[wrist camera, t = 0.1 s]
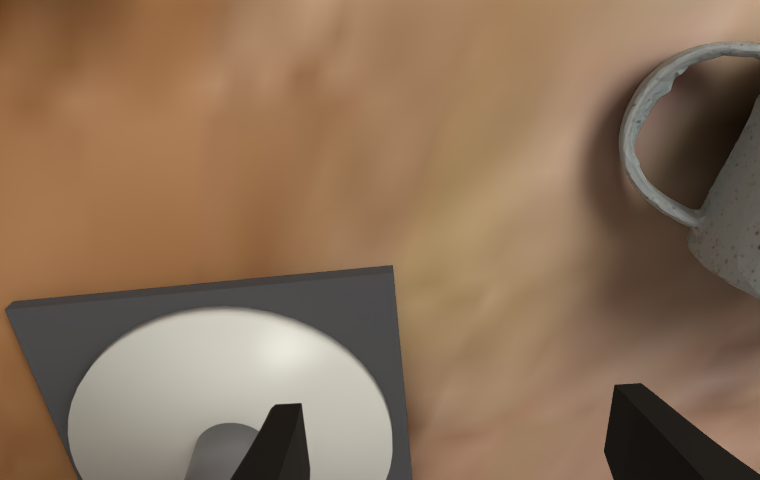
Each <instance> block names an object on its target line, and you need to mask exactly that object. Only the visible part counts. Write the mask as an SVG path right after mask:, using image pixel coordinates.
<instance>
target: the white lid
mask: <svg viewBox="0 0 760 480" xmlns="http://www.w3.org/2000/svg"><path fill="white" fill-rule="evenodd" d="M291 403H302V410H303V417H304V425H305V432H306V440H307V447H308V455H309V463H310V480H386V478H387V475H388V472H389V469H390V465H391V459H392V452H393V451H392V427H391V420H390V415H389V410H388V406H387V404H386V401H385V398H384V396H383V393H382V391H381V389H380V388H379V386H378V384H377V382H376V381H375V379H374V377H373V376H372V375H371V373H370V372H369V371H368V370H367V368H366V367H365V366H364V364H363V363H362V362H361V361H360V360H359V359H358V358H357V357H356V356H355V355H354V354H353V353H351V352H350V351H349V350H348V349H347V348H346V347H344V346H343V345H342V344H340V343H339V342H338V341H336V340H335V339H334V338H332V337H330V336H329V335H327V334H325V333H323V332H322V331H320V330H318V329H316V328H315V327H313V326H310V325H308V324H306V323H303V322H301V321H298V320H296V319H294V318H291V317H287V316H284V315H281V314H277V313H274V312H270V311H264V310H259V309H253V308H247V307H233V306H212V307H198V308H192V309H185V310H179V311H176V312H172V313H169V314H165V315H161V316H158V317H156V318H154V319H151V320H149V321H146V322H144V323H142V324H139V325H138V326H136V327H134V328H133V329H131V330H129V331H127V332H126V333H124V334H122V335H121V336H120V337H119V338H117V339H116V340H115V341H114V342H112V343H111V344H110V345H109V346H107V348H106V349H105V350H104V351H103V352H102V353H101V354H100V355H99V356H98V357H97V359H96V360H95V361H94V363H93V364H92V366H91V367H90V369H89V370H88V372H87V373H86V375H85V377H84V378H83V380H82V381H81V383H80V384H79V386H78V388H77V390H76V393H75V395H74V398H73V400H72V403H71V407H70V412H69V417H68V439H69V445H70V451H71V454H72V457H73V460H74V463H75V466H76V468H77V470H78V472H79V474H80V475H81V477H82V479H83V480H230V479H231V477H232V476H233V474H234V473H235V471H236V469H237V468H238V466H239V465H240V463H241V461H242V460H243V458H244V457H245V455H246V453H247V452H248V450H249V448H250V447H251V445H252V443H253V442H254V440H255V438H256V436H257V434H258V433H259V431H260V429H261V427H262V425H263V423H264V421H265V419H266V417H267V415H268V413H269V411H270V409H271V408H272V407H273V406H274V405H275V404H291Z"/></svg>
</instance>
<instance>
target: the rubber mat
mask: <svg viewBox="0 0 760 480" xmlns="http://www.w3.org/2000/svg"><path fill="white" fill-rule="evenodd" d="M212 306H233V307H247V308H253V309H259V310H264V311H270V312H274V313H277V314H281V315H284V316H287V317H291V318H294V319H296V320H298V321H301V322H303V323H306V324H308V325H310V326H313V327H315V328H316V329H318V330H320V331H322V332H323V333H325V334H327V335H329V336H330V337H332V338H334V339H335V340H336V341H338V342H339V343H340V344H342V345H343V346H344V347H346V348H347V349H348V350H349V351H350V352H351V353H353V354H354V355H355V356H356V357H357V358H358V359H359V360H360V361H361V362H362V363H363V364H364V366H365V367H366V368H367V370H368V371H369V372H370V373H371V375H372V376H373V377H374V379H375V381H376V382H377V384H378V386H379V388H380V389H381V391H382V393H383V396H384V398H385V401H386V404H387V406H388V410H389V415H390V420H391V427H392V451H393V452H392V459H391V465H390V469H389V472H388V475H387V478H386V480H413V479H412V469H411V458H410V447H409V436H408V425H407V415H406V404H405V393H404V382H403V371H402V361H401V350H400V339H399V328H398V317H397V307H396V296H395V285H394V274H393V265H391V266H381V267H370V268H360V269H349V270H339V271H328V272H318V273H307V274H297V275H287V276H276V277H266V278H255V279H245V280H234V281H224V282H213V283H203V284H192V285H182V286H172V287H161V288H151V289H140V290H130V291H119V292H109V293H98V294H88V295H77V296H67V297H56V298H46V299H36V300H25V301H15V302H12V303H11V304H10V305H9V306H8V307H7V308H6V309H5V311H6V313H7V316H8V318H9V320H10V323H11V325H12V327H13V330H14V332H15V334H16V336H17V339H18V341H19V343H20V346H21V348H22V350H23V353H24V355H25V357H26V359H27V362H28V364H29V366H30V369H31V371H32V373H33V375H34V378H35V380H36V382H37V385H38V387H39V389H40V392H41V394H42V396H43V398H44V401H45V403H46V405H47V408H48V410H49V412H50V415H51V417H52V419H53V421H54V424H55V426H56V428H57V431H58V433H59V435H60V438H61V440H62V442H63V444H64V447H65V449H66V451H67V454H68V456H69V458H70V460H71V463H72V465H73V467H74V470H75V472H76V474H77V477H78V479H79V480H83V479H82V477H81V475H80V474H79V472H78V470H77V468H76V466H75V463H74V460H73V457H72V454H71V451H70V445H69V439H68V417H69V412H70V407H71V403H72V400H73V398H74V395H75V393H76V390H77V388H78V386H79V384H80V383H81V381H82V380H83V378H84V377H85V375H86V373H87V372H88V370H89V369H90V367H91V366H92V364H93V363H94V361H95V360H96V359H97V357H98V356H99V355H100V354H101V353H102V352H103V351H104V350H105V349H106V348H107V346H109V345H110V344H111V343H112V342H114V341H115V340H116V339H117V338H119V337H120V336H121V335H122V334H124V333H126V332H127V331H129V330H131V329H133V328H134V327H136V326H138V325H139V324H142V323H144V322H146V321H149V320H151V319H154V318H156V317H158V316H161V315H165V314H169V313H172V312H176V311H179V310H185V309H192V308H198V307H212Z"/></svg>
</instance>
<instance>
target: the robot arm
mask: <svg viewBox="0 0 760 480" xmlns="http://www.w3.org/2000/svg"><path fill="white" fill-rule="evenodd" d="M604 453H605V456H606V459H607V462H608V465H609V467H610V470H611V473H612V476H613V479H614V480H760V474H758V473H757V472H756V471H754V470H753V469H751V468H750V467H748V466H747V465H746V464H744V463H743V462H741V461H740V460H739V459H737V458H736V457H734V456H733V455H732V454H730V453H729V452H728V451H726V450H725V449H724V448H722V447H721V446H720V445H718V444H717V443H716V442H714V441H713V440H712V439H711V438H709V437H708V436H707V435H705V434H704V433H703V432H702V431H700V430H699V429H698V428H696V427H695V426H694V425H693V424H691V423H690V422H689V421H688V420H686V419H685V418H684V417H683V416H681V415H680V414H679V413H678V412H676V411H675V410H674V409H673V408H672V407H670V406H669V405H668V404H667V403H665V402H664V401H663V400H662V399H660V398H659V397H658V396H657V395H655V394H654V393H653V392H652V391H650V390H649V389H648V388H647V387H645V386H644V385H643V384H641V383H637V384H620V385H615V386H614V392H613V398H612V404H611V411H610V417H609V423H608V429H607V436H606V442H605V448H604ZM230 480H310V463H309V455H308V447H307V440H306V432H305V425H304V417H303V410H302V403H291V404H275V405H274V406H273V407H272V408H271V409H270V411H269V413H268V415H267V417H266V419H265V421H264V423H263V425H262V427H261V429H260V431H259V433H258V434H257V436H256V438H255V440H254V442H253V443H252V445H251V447H250V448H249V450H248V452H247V453H246V455H245V457H244V458H243V460H242V461H241V463H240V465H239V466H238V468H237V469H236V471H235V473H234V474H233V476H232V477H231V479H230Z"/></svg>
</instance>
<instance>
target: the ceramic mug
mask: <svg viewBox="0 0 760 480" xmlns="http://www.w3.org/2000/svg"><path fill="white" fill-rule="evenodd" d="M724 55H725V56H738V57H754V58H757V59H760V44H757V43H748V42H719V43H711V44H705V45H700V46H696V47H693V48H689V49H687V50H685V51H682V52H680V53H678V54H676V55H674V56H672V57H671V58H669V59H668V60H666V61H664V62H663V63H661V64H660V65H659V66H658V67H657V68H656V69H655V70H654V71H652V72H651V73H650V74H649V75H648V76H647V77H646V78H645V79H644V80H643V81H642V82H641V84H640V85H639V86H638V88H637V89H636V91H635V93H634V94H633V96H632V98H631V100H630V102H629V104H628V106H627V108H626V110H625V113H624V116H623V120H622V124H621V129H620V133H619V152H620V158H621V163H622V165H623V167H624V169H625V172H626V174H627V176H628V178H629V180H630V181H631V183H632V184H633V186H634V188H635V189H636V190H637V191H638V192H639V193H640V195H641V196H642V197H644V198H645V199H646V200H647V201H648V202H649V203H650V204H651V205H653V206H654V207H655V208H656V209H658V210H659V211H660V212H662V213H664V214H665V215H667V216H669V217H671V218H672V219H674V220H676V221H678V222H679V223H681V224H684V225H686V226H688V227H690V228H691V229H690V232H689V235H688V237H687V245H688V248H689V250H690V251H691V253H692V254H693V255H694V256H695V258H696V259H697V260H698V261H699V262H700V263H701V264H702V265H703V266H704V267H705V268H707V269H708V270H710V271H711V272H712V273H714V274H716V275H717V276H719V277H721V278H722V279H723V280H724V281H726V282H727V283H729V284H731V285H733V286H734V287H736V288H738V289H740V290H742V291H744V292H746V293H748V294H750V295H752V296H754V297H756V298H757V299H759V300H760V95H759V96H758V97H757V99H756V102H755V104H754V107H753V110H752V112H751V115H750V117H749V119H748V121H747V123H746V125H745V127H744V129H743V131H742V133H741V135H740V137H739V139H738V141H737V142H736V144H735V146H734V148H733V150H732V151H731V153H730V155H729V157H728V159H727V161H726V162H725V164H724V165H723V167H722V169H721V171H720V173H719V175H718V176H717V178H716V180H715V182H714V184H713V186H712V187H711V188H710V190H709V193H708V195H707V198H706V199H705V201H704V204H703V205H702V206H701V208H700V209H698V210H695V209H689V208H688V207H686V206H684V205H682V204H679V203H678V202H676V201H674V200H672V199H671V198H669V197H667V196H666V195H664V194H663V193H662V192H660V191H659V190H658V189H656V188H655V187H654V186H653V185H652V184H651V183H650V182H648V180H647V179H646V178H645V175H644V174H643V172H642V170H641V169H640V167H639V165H640V163H639V161H638V159H637V158H636V155H635V152H634V145H635V141H636V138H637V136H638V133H639V131H640V129H641V127H642V125H643V123H644V121H645V119H646V118H647V116H648V114H649V112H650V110H651V108H652V107H653V105H654V104H655V103H656V101H657V100H658V99H659V98H660V97H662V96H663V95H665V94H667V93H668V92H670V90H671V87H672V84H673V81H674V79H675V78H676V77H678V76H679V75H681V74H682V73H683V72H684V71H685V70H686V69H687V68H688V67H689V65H692V64H695V63H698V62H702V61H705V60H709V59H714V58H717V57H720V56H724Z"/></svg>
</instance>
